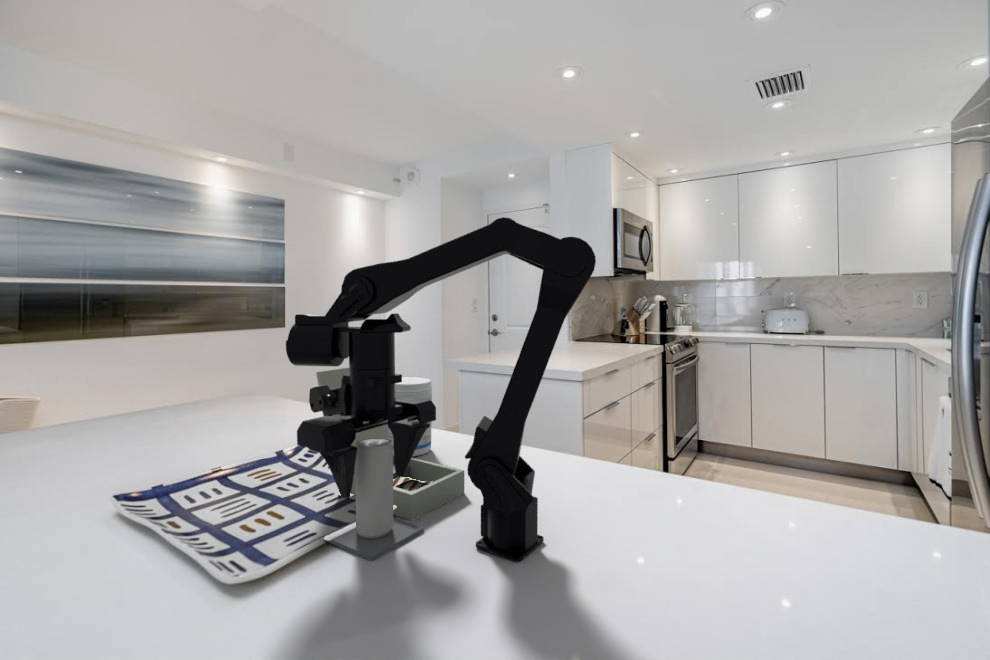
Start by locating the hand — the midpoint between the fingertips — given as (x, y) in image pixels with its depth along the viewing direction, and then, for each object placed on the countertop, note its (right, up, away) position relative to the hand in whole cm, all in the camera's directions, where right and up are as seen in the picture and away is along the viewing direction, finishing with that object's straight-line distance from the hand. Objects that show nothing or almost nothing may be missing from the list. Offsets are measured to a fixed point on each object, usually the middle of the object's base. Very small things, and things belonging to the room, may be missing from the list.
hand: (374, 485), depth 64 cm
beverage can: (0, -6, 0) cm, 6 cm away
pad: (0, -7, 0) cm, 7 cm away
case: (+1, -6, +14) cm, 15 cm away
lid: (-8, +6, +19) cm, 22 cm away
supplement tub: (-2, -5, +37) cm, 37 cm away
